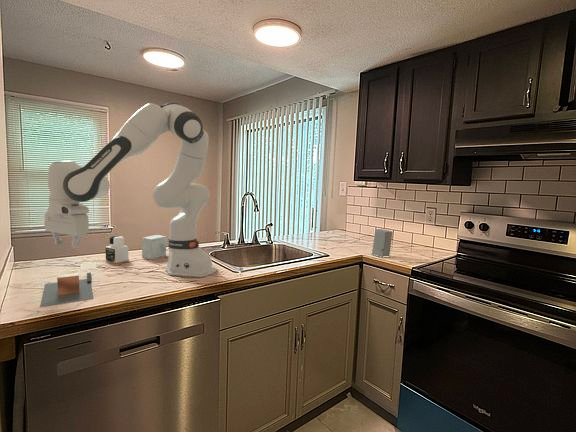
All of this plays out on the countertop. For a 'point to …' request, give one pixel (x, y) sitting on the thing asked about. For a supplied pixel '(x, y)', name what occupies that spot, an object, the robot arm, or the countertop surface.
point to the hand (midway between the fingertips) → (66, 245)
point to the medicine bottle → (117, 250)
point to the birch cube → (68, 282)
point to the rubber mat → (53, 298)
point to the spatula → (87, 266)
